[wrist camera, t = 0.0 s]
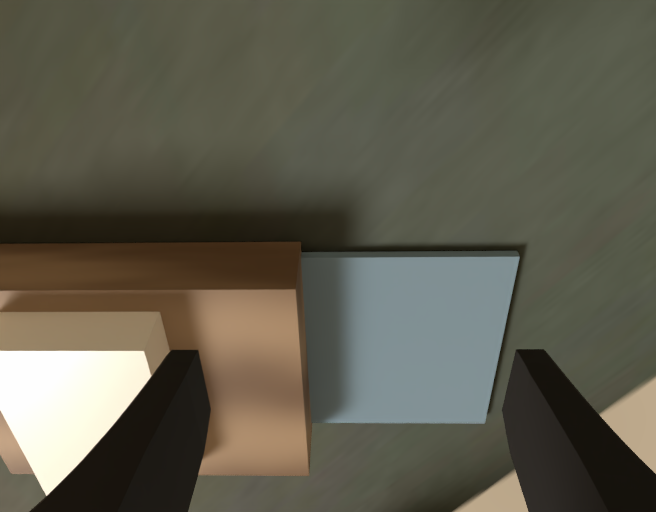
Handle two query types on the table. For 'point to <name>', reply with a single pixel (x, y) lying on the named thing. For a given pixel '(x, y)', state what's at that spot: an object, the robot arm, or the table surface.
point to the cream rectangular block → (72, 380)
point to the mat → (404, 333)
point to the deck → (193, 332)
